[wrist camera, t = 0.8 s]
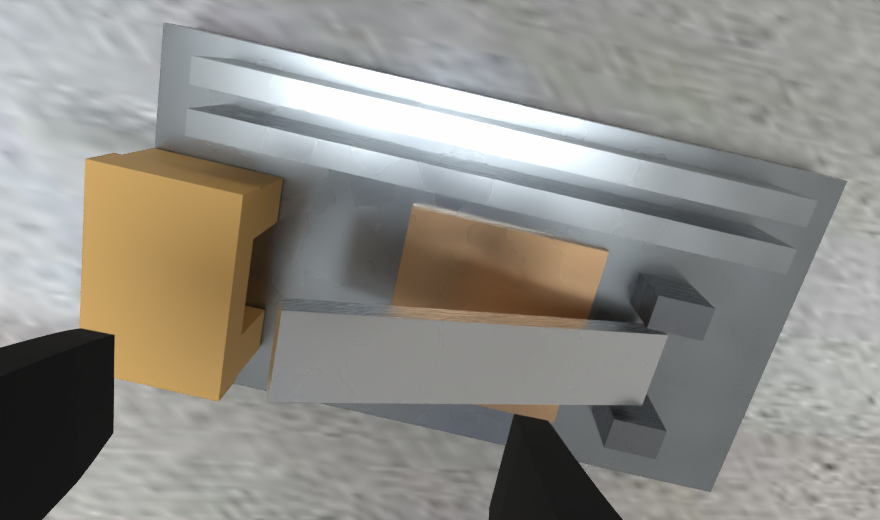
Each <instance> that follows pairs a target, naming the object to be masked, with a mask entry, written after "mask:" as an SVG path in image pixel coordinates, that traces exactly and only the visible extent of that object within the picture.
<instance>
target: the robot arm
mask: <svg viewBox="0 0 880 520" xmlns="http://www.w3.org/2000/svg"><path fill="white" fill-rule="evenodd" d="M114 348H115V335H113V334H108V333H103V332H98V331H93V330H88V329H83V328H80V329H74V330H68V331H63V332H58V333H54V334H50V335H46V336H42V337H38V338H34V339H30V340H27V341H23V342H19V343H16V344H12V345H8V346H5V347H1V348H0V520H42V519H43V518H44V517H45V516H46V515H47V514H48V513H49V512H50V511H51V510H52V508H53V507H54V506H55V505H56V504H57V503H58V502H59V501H60V500H61V499H62V498H63V497H64V496H65V495H66V494H67V493H68V491H69V490H70V489H71V488H72V487H73V486H74V485H75V484H76V483H77V482H78V480H79V479H80V478H81V476H82V475H83V474H84V473H85V471H86V470H87V469H88V467H89V466H90V465H91V463H92V462H93V461H94V459H95V458H96V457H97V455H98V454H99V452H100V451H101V450H102V448H103V447H104V445H105V444H106V442H107V441H108V440H109V438H110V437H111V435H112V434H113V420H114ZM489 520H623V519H622V518H621V517H620V516H619V515H618V513H617V512H616V511H615V510H614V508H613V507H612V506H611V505H610V503H609V502H608V501H607V500H606V498H605V497H604V496H603V495H602V493H601V492H600V491H599V489H598V488H597V487H596V486H595V484H594V483H593V482H592V480H591V479H590V478H589V476H588V475H587V474H586V472H585V471H584V470H583V468H582V467H581V465H580V464H579V463H578V461H577V460H576V459H575V457H574V456H573V454H572V453H571V452H570V450H569V449H568V447H567V446H566V445H565V443H564V442H563V440H562V439H561V438H560V436H559V435H558V433H557V432H556V431H555V429H554V428H553V426H552V425H551V424H550V422H549V421H548V420H543V419H538V418H533V417H528V416H523V415H518V414H514V415H513V419H512V423H511V427H510V431H509V435H508V438H507V442H506V446H505V450H504V454H503V457H502V461H501V465H500V469H499V473H498V477H497V480H496V484H495V488H494V492H493V496H492V499H491V503H490V507H489Z"/></svg>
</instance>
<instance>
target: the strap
mask: <svg viewBox="0 0 880 520" xmlns="http://www.w3.org/2000/svg"><path fill="white" fill-rule="evenodd" d="M667 338H668V335H667V334H666V333H665V332H661V331H657V330H652V329H648V328H646V326H645V325H644V324H643V323H629V322H615V321H601V320H587V319H573V318H559V317H545V316H531V315H517V314H503V313H489V312H475V311H461V310H447V309H433V308H419V307H405V306H391V305H377V304H363V303H349V302H335V301H322V300H308V299H294V298H280V299H279V305H278V312H277V319H276V326H275V333H274V340H273V346H272V353H271V360H270V367H269V374H268V381H267V396H268V402H277V403H402V404H526V405H642V404H643V401H644V399H645V396H646V393H647V391H648V388H649V385H650V383H651V380H652V377H653V375H654V372H655V369H656V367H657V364H658V361H659V359H660V356H661V354H662V351H663V348H664V346H665V343H666V340H667Z"/></svg>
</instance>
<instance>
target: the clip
mask: <svg viewBox="0 0 880 520" xmlns="http://www.w3.org/2000/svg"><path fill="white" fill-rule="evenodd" d="M282 183H283V178H281V177H277V176H272V175H268V174H264V173H259V172H255V171H251V170H246V169H242V168H238V167H233V166H229V165H225V164H220V163H216V162H212V161H207V160H203V159H199V158H194V157H190V156H186V155H181V154H177V153H173V152H168V151H164V150H160V149H155V148H151V149H147V150H142V151H137V152H133V153H128V154H124V155H121V154H117V153H111V154H106V155H102V156H97V157H92V158H87V159H85V188H84V218H83V248H82V278H81V308H80V328H83V329H88V330H93V331H98V332H103V333H108V334H113V335H115V348H114V378H117V379H122V380H126V381H130V382H135V383H139V384H144V385H148V386H152V387H157V388H161V389H165V390H170V391H174V392H179V393H183V394H187V395H192V396H196V397H201V398H205V399H209V400H214V401H218V402H219V400H220V399H221V398H222V397H223V395H224V394H225V393H226V392H227V390H228V389H229V388H230V387H231V385H232V384H233V383H234V382H235V380H236V377H237V375H238V374H239V373H240V372H241V370H242V369H243V368H244V367H245V365H246V364H247V363H248V362H249V361H250V359H251V358H252V357H253V356H254V354H255V353H256V352H257V351H258V349H259V348H260V341H261V334H262V327H263V320H264V312H265V310H263V309H259V308H254V307H250V306H246V305H245V301H246V293H247V286H248V278H249V270H250V262H251V254H252V246H253V239H254V238H256V237H257V236H258V235H260V234H261V233H263V232H264V231H265V230H267V229H268V228H270V227H271V226H272V225H274V224H275V223H276V222H277V219H278V212H279V204H280V197H281V190H282Z"/></svg>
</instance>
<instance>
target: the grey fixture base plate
mask: <svg viewBox="0 0 880 520" xmlns="http://www.w3.org/2000/svg"><path fill="white" fill-rule="evenodd" d="M155 149H160V150H164V151H168V152H173V153H177V154H181V155H186V156H190V157H194V158H199V159H203V160H207V161H212V162H216V163H220V164H225V165H229V166H233V167H238V168H242V169H246V170H251V171H255V172H259V173H264V174H268V175H272V176H277V177H281V178H283V183H282V190H281V197H280V204H279V212H278V219H277V222H276V223H275V224H274V225H272V226H271V227H270V228H268V229H267V230H265V231H264V232H263V233H261V234H260V235H258V236H257V237H256V238H254V239H253V246H252V254H251V262H250V270H249V278H248V286H247V293H246V301H245V305H246V306H250V307H254V308H259V309H263V310H265V312H264V320H263V327H262V334H261V341H260V348H259V349H258V351H257V352H256V353H255V354H254V356H253V357H252V358H251V359H250V361H249V362H248V363H247V364H246V365H245V367H244V368H243V369H242V370H241V372H240V373H239V374H238V375H237V377H236V380H235V382H234V384H239V385H243V386H247V387H252V388H256V389H260V390H265V391H267V381H268V374H269V367H270V360H271V353H272V346H273V340H274V333H275V326H276V319H277V312H278V305H279V299H280V298H294V299H308V300H322V301H335V302H349V303H363V304H377V305H391V306H405V307H419V308H433V309H447V310H461V311H475V312H489V313H503V314H517V315H531V316H545V317H559V318H573V319H587V320H601V321H615V322H629V323H643V324H644V325H645V326H646V328H648V329H652V330H657V331H661V332H665V333H666V334H667V335H668V338H667V340H666V343H665V346H664V348H663V351H662V354H661V356H660V359H659V361H658V364H657V367H656V369H655V372H654V375H653V377H652V380H651V383H650V385H649V388H648V391H647V393H646V396H645V399H644V401H643V404H642V405H526V404H402V403H322V404H326V405H331V406H335V407H340V408H344V409H348V410H353V411H357V412H361V413H366V414H370V415H375V416H379V417H383V418H388V419H392V420H397V421H401V422H405V423H410V424H414V425H419V426H423V427H427V428H432V429H436V430H440V431H445V432H449V433H454V434H458V435H462V436H467V437H471V438H476V439H480V440H484V441H489V442H493V443H498V444H502V445H506V442H507V438H508V435H509V431H510V427H511V423H512V419H513V415H514V414H518V415H523V416H528V417H533V418H538V419H543V420H548V421H549V422H550V424H551V425H552V426H553V428H554V429H555V431H556V432H557V433H558V435H559V436H560V438H561V439H562V440H563V442H564V443H565V445H566V446H567V447H568V449H569V450H570V452H571V453H572V454H573V456H574V457H575V459H576V460H577V461H578V462H581V463H585V464H590V465H594V466H599V467H603V468H607V469H612V470H616V471H620V472H625V473H629V474H634V475H638V476H642V477H647V478H651V479H656V480H660V481H664V482H669V483H673V484H678V485H682V486H686V487H691V488H695V489H700V490H704V491H708V492H711V490H712V487H713V485H714V483H715V481H716V478H717V476H718V474H719V472H720V469H721V467H722V465H723V462H724V460H725V458H726V456H727V453H728V451H729V449H730V447H731V444H732V442H733V440H734V437H735V435H736V433H737V431H738V428H739V426H740V424H741V422H742V419H743V417H744V415H745V412H746V410H747V408H748V406H749V403H750V401H751V399H752V397H753V394H754V392H755V390H756V387H757V385H758V383H759V381H760V378H761V376H762V374H763V371H764V369H765V367H766V365H767V362H768V360H769V358H770V356H771V353H772V351H773V349H774V346H775V344H776V342H777V340H778V337H779V335H780V333H781V331H782V328H783V326H784V324H785V321H786V319H787V317H788V315H789V312H790V310H791V308H792V306H793V303H794V301H795V299H796V296H797V294H798V292H799V290H800V287H801V285H802V283H803V281H804V278H805V276H806V274H807V271H808V269H809V267H810V265H811V262H812V260H813V258H814V256H815V253H816V251H817V249H818V246H819V244H820V242H821V240H822V237H823V235H824V233H825V231H826V228H827V226H828V224H829V221H830V219H831V217H832V215H833V212H834V210H835V208H836V206H837V203H838V201H839V199H840V196H841V194H842V192H843V190H844V187H845V185H846V183H847V181H844V180H841V179H837V178H834V177H830V176H827V175H823V174H819V173H816V172H812V171H809V170H804V169H800V168H796V167H791V166H787V165H783V164H779V163H774V162H770V161H766V160H761V159H757V158H753V157H748V156H744V155H740V154H735V153H731V152H727V151H723V150H718V149H714V148H710V147H705V146H701V145H697V144H692V143H688V142H684V141H680V140H675V139H671V138H667V137H662V136H658V135H654V134H649V133H645V132H641V131H636V130H632V129H628V128H624V127H619V126H615V125H611V124H606V123H602V122H598V121H593V120H589V119H585V118H581V117H576V116H572V115H568V114H563V113H559V112H555V111H550V110H546V109H542V108H537V107H533V106H529V105H525V104H520V103H516V102H512V101H507V100H503V99H499V98H494V97H490V96H486V95H482V94H477V93H473V92H469V91H464V90H460V89H456V88H451V87H447V86H443V85H438V84H434V83H430V82H426V81H421V80H417V79H413V78H408V77H404V76H400V75H395V74H391V73H387V72H383V71H378V70H374V69H370V68H365V67H361V66H357V65H352V64H348V63H344V62H340V61H335V60H331V59H327V58H322V57H318V56H314V55H309V54H305V53H301V52H296V51H292V50H288V49H284V48H279V47H275V46H271V45H266V44H262V43H258V42H253V41H249V40H245V39H241V38H236V37H232V36H228V35H223V34H219V33H215V32H210V31H206V30H202V29H197V28H192V27H187V26H181V25H175V24H169V23H164V25H163V39H162V54H161V68H160V83H159V97H158V111H157V126H156V140H155Z"/></svg>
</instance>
